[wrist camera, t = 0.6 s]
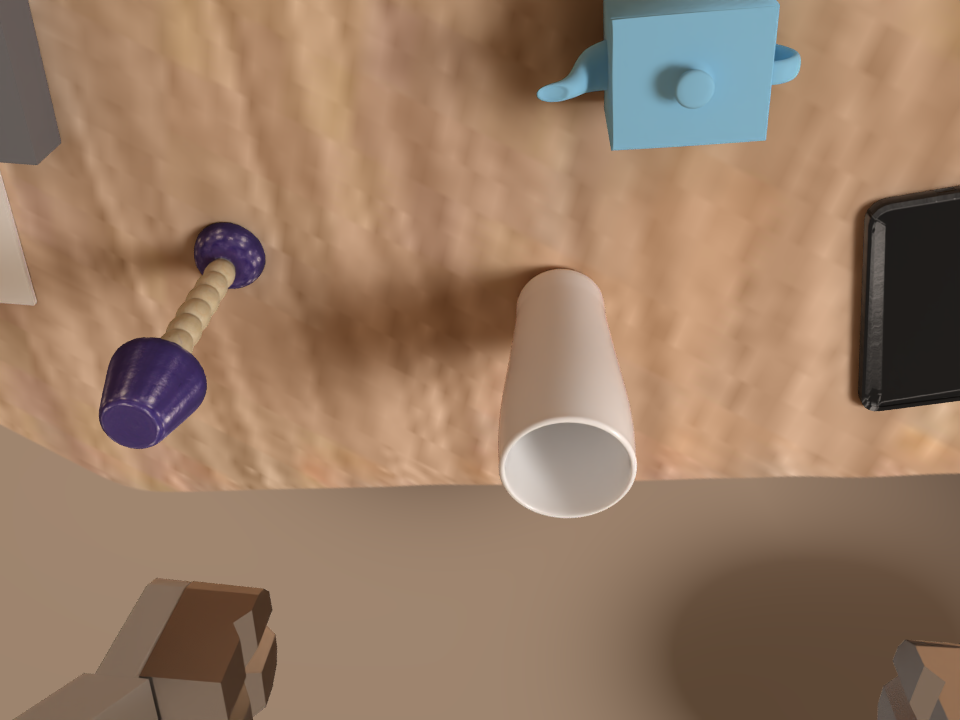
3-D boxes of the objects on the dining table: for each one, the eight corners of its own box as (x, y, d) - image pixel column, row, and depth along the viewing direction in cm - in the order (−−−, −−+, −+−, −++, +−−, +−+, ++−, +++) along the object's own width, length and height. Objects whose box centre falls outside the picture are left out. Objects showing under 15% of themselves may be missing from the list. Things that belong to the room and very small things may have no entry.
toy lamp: (180, 220, 52) (58, 397, 39) (253, 206, 51) (154, 381, 38) (212, 288, 55) (108, 475, 42) (282, 275, 54) (199, 462, 41)
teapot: (539, 107, 47) (539, 165, 41) (533, -13, 44) (532, 32, 38) (770, 90, 46) (805, 148, 40) (782, -34, 43) (823, 9, 36)
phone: (861, 413, 57) (869, 207, 49) (855, 402, 58) (863, 198, 50) (991, 396, 56) (1023, 182, 48) (983, 385, 57) (1014, 173, 48)
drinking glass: (493, 333, 56) (482, 505, 44) (520, 242, 52) (516, 403, 40) (596, 356, 57) (612, 532, 45) (631, 268, 53) (659, 434, 41)
